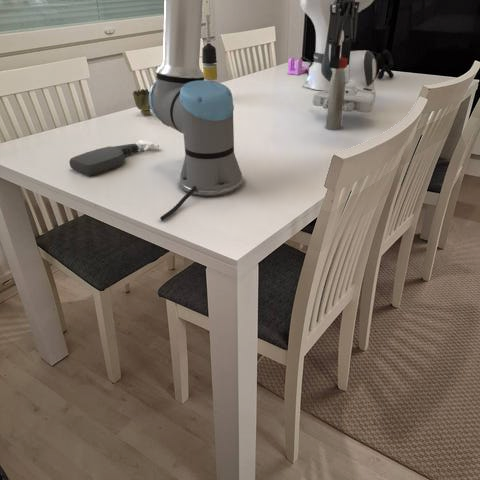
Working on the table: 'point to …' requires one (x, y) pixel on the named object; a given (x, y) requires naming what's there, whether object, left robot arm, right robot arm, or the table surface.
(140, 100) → the cup
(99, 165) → the spray bottle
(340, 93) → the bottle
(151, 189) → the table surface
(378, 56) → the squiggle
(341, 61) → the cap
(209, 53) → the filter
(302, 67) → the bracket
